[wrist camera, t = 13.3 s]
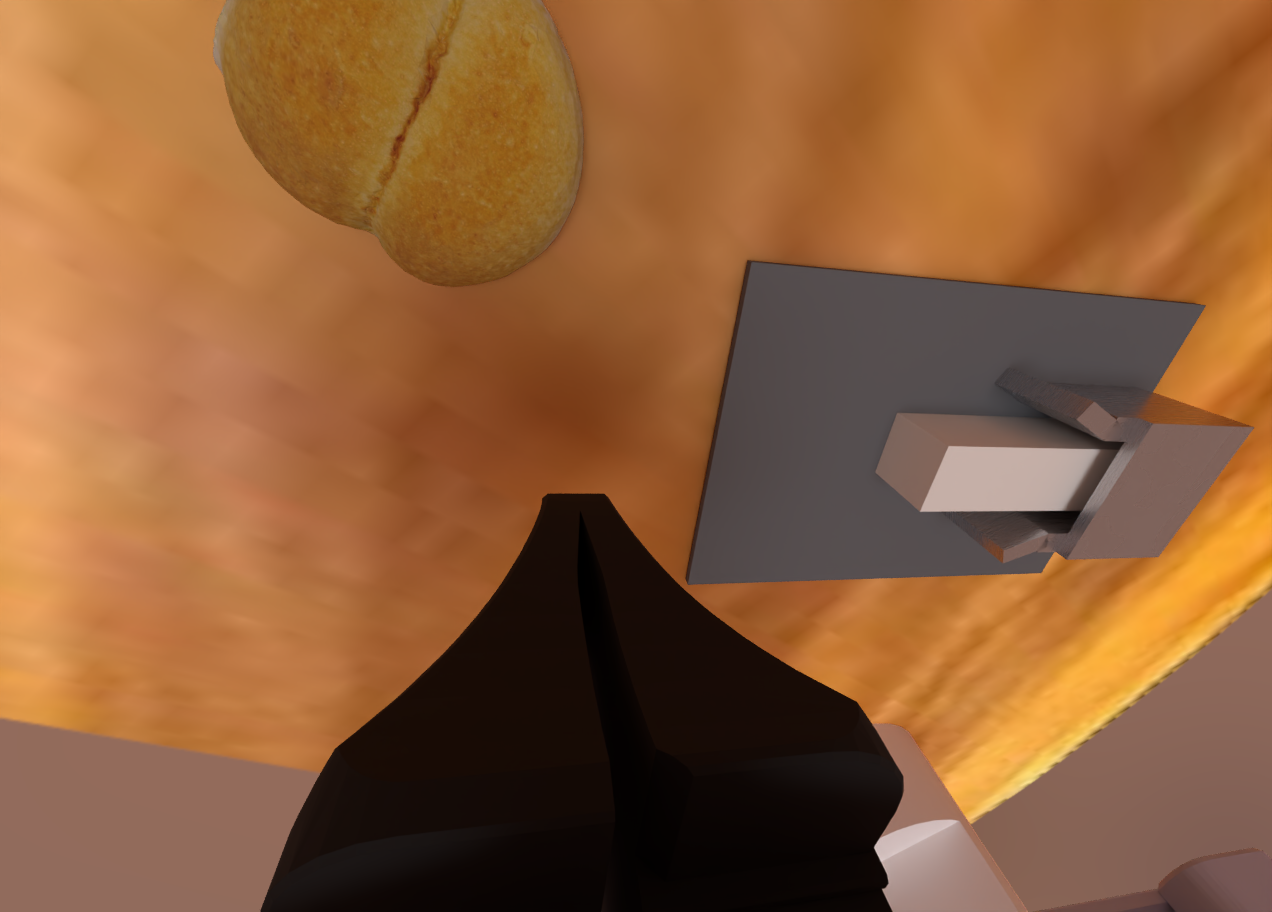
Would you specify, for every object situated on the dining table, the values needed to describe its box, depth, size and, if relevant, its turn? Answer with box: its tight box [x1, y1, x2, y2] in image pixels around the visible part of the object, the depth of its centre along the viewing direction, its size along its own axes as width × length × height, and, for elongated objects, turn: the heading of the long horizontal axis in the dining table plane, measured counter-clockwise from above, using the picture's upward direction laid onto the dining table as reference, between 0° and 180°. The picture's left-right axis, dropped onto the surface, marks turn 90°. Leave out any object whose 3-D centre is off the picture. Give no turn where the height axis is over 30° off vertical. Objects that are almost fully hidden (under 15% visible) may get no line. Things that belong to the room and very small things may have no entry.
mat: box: [686, 261, 1206, 585], centre depth 23 cm, size 15×21×1 cm
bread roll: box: [213, 0, 584, 287], centre depth 13 cm, size 8×9×4 cm
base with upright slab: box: [872, 724, 1028, 912], centre depth 31 cm, size 9×9×12 cm
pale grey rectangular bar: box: [875, 413, 1124, 512], centre depth 22 cm, size 11×3×3 cm, turn 84°
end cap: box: [941, 368, 1254, 563], centre depth 22 cm, size 8×8×4 cm
